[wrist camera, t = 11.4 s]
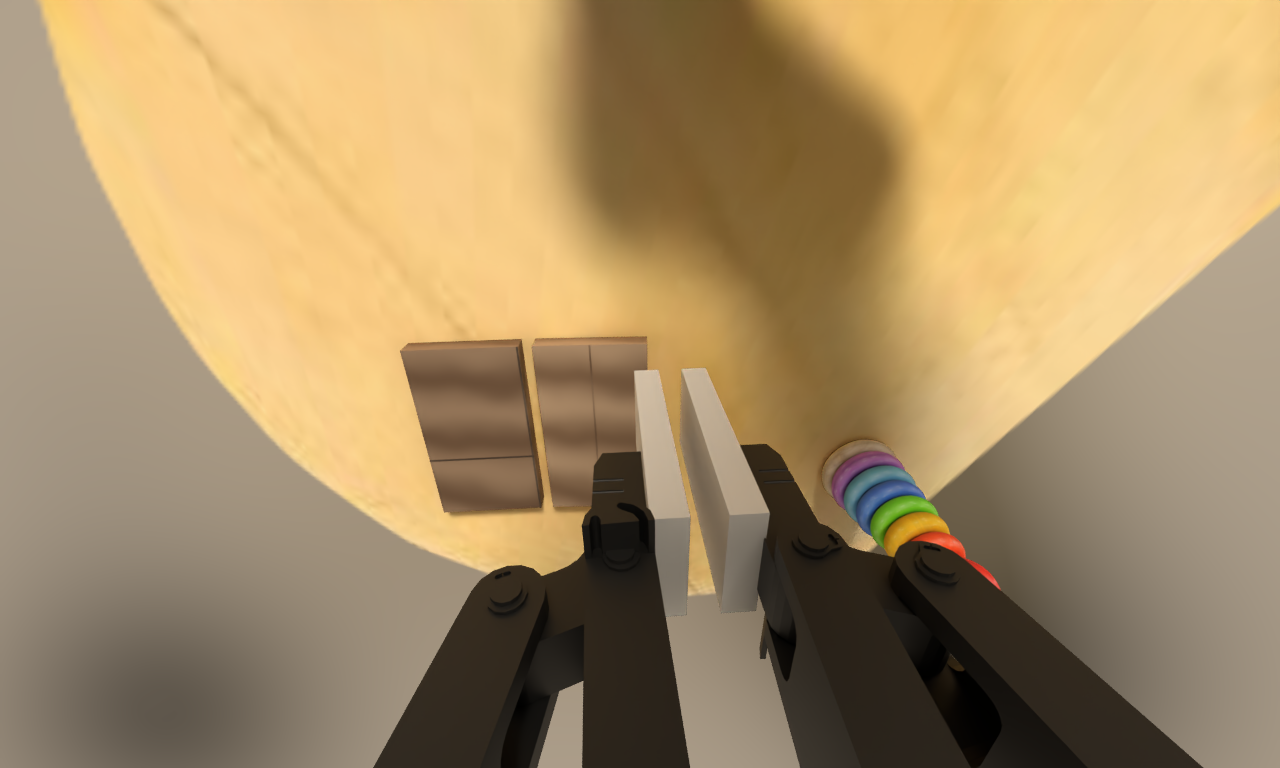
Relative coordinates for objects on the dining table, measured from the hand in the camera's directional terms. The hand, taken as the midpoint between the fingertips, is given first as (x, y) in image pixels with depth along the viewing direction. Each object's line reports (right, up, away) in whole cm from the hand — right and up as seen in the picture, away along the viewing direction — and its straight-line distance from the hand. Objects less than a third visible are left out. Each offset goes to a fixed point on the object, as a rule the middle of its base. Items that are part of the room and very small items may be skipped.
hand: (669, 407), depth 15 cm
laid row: (-16, -3, +30) cm, 35 cm away
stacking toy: (+23, -8, +35) cm, 43 cm away
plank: (-5, -3, +30) cm, 31 cm away
